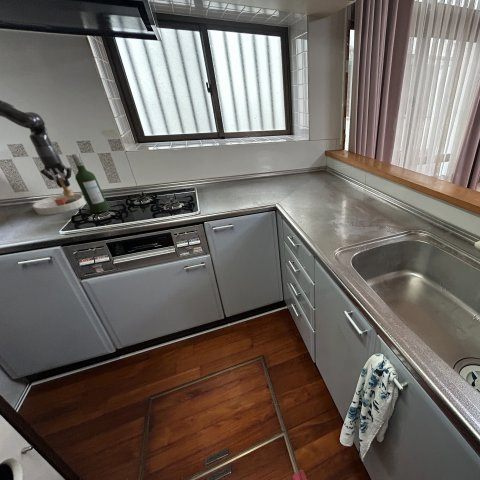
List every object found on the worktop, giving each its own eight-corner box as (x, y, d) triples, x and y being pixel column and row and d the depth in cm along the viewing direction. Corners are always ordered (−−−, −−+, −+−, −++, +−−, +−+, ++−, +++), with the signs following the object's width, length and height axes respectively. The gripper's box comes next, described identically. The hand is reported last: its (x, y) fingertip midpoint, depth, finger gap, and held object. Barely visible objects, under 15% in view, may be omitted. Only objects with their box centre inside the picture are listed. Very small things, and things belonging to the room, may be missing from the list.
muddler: (63, 196, 148) (54, 179, 143) (66, 194, 151) (57, 177, 146) (71, 196, 149) (62, 178, 144) (75, 193, 152) (66, 176, 147)
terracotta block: (57, 206, 149) (54, 200, 147) (61, 203, 152) (57, 198, 150) (65, 205, 150) (62, 199, 148) (68, 203, 153) (65, 197, 151)
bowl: (27, 218, 137) (22, 210, 135) (50, 203, 155) (46, 196, 153) (76, 213, 143) (72, 205, 140) (92, 199, 160) (89, 192, 158)
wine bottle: (103, 206, 150) (78, 152, 134) (112, 208, 147) (88, 153, 132) (88, 212, 143) (60, 155, 128) (98, 214, 141) (71, 156, 126)
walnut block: (67, 207, 147) (64, 201, 145) (71, 205, 150) (68, 199, 148) (75, 207, 148) (72, 201, 146) (78, 204, 151) (75, 199, 149)
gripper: (67, 152, 143) (82, 183, 152) (36, 154, 140) (53, 185, 149) (60, 155, 137) (76, 187, 146) (27, 157, 134) (45, 190, 142)
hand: (64, 186), depth 147 cm, fingers closed on muddler, 2 cm apart
